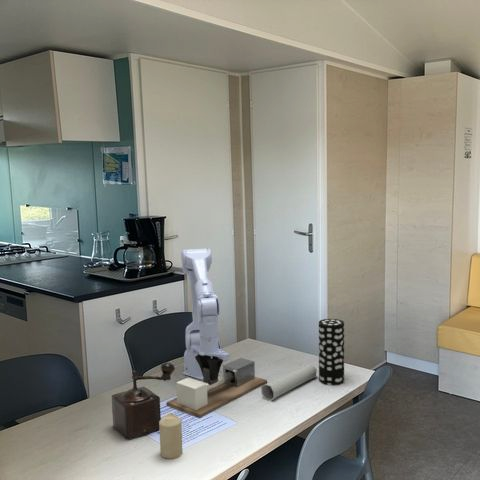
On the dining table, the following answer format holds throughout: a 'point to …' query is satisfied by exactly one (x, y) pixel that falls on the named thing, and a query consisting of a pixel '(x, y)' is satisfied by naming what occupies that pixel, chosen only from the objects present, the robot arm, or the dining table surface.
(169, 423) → the candle
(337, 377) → the white-spotted black cylinder
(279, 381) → the tube
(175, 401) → the base board
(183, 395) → the cream rectangular block
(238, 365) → the sleeve
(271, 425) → the dining table surface
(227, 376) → the inner tube
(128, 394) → the manual coffee grinder
